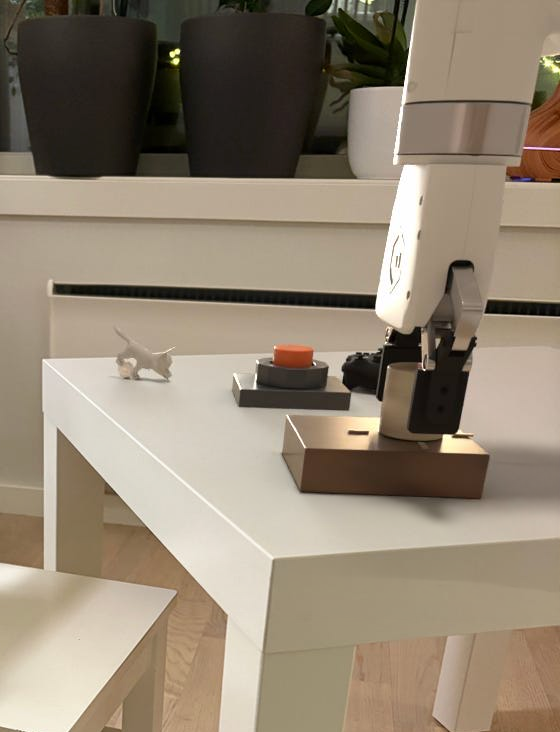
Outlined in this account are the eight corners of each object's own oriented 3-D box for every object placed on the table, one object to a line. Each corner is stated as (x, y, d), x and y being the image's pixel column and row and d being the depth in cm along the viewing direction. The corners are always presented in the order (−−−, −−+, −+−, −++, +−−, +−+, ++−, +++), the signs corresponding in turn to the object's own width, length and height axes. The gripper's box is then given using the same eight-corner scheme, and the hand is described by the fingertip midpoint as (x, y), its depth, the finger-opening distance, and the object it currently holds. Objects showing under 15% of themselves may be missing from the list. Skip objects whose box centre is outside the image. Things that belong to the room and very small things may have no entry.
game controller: (420, 386, 93) (364, 340, 93) (383, 427, 96) (328, 382, 96) (422, 370, 101) (370, 327, 101) (388, 408, 104) (337, 366, 104)
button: (308, 364, 92) (310, 345, 92) (314, 371, 89) (316, 351, 88) (270, 363, 93) (272, 344, 92) (274, 369, 89) (276, 350, 89)
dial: (371, 425, 70) (381, 356, 68) (432, 427, 70) (445, 358, 68) (386, 440, 66) (397, 368, 64) (451, 442, 66) (464, 370, 64)
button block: (334, 393, 96) (338, 357, 94) (349, 411, 88) (354, 372, 87) (232, 390, 96) (235, 354, 95) (238, 407, 89) (242, 368, 87)
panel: (445, 459, 74) (452, 417, 72) (486, 498, 65) (495, 452, 63) (281, 453, 74) (286, 412, 73) (299, 491, 65) (305, 445, 64)
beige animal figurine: (145, 406, 99) (181, 365, 97) (88, 351, 99) (123, 308, 96) (153, 400, 102) (188, 360, 99) (98, 347, 102) (132, 305, 99)
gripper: (370, 143, 68) (337, 390, 76) (434, 133, 53) (385, 445, 60) (479, 145, 68) (435, 393, 75) (576, 136, 52) (509, 450, 60)
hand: (413, 416), depth 68 cm, fingers open, 9 cm apart
